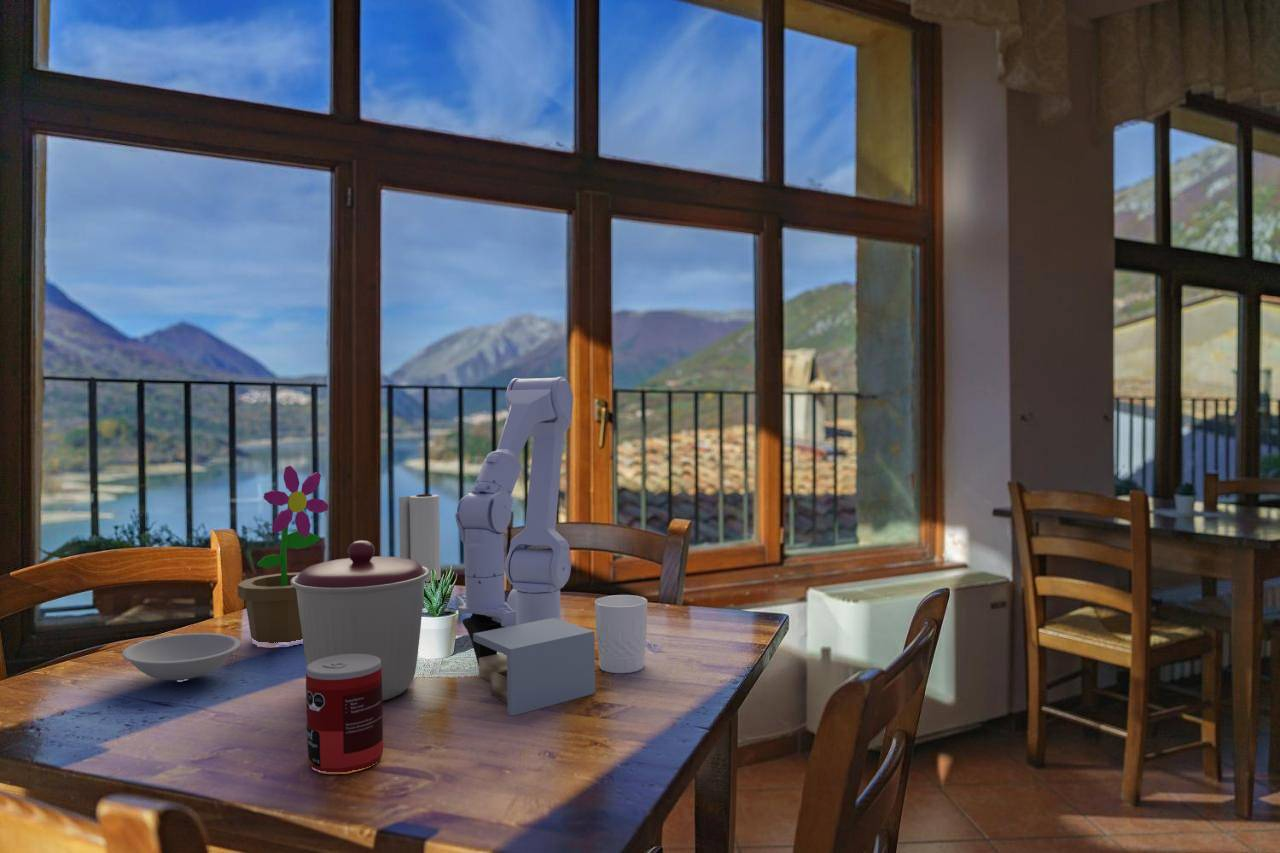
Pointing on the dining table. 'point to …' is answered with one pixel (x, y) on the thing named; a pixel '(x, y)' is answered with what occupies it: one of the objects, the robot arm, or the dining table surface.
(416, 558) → the paper towel roll
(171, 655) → the dish
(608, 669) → the white cup
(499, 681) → the wooden tray
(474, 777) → the dining table surface
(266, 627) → the flowerpot
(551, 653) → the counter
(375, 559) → the canister
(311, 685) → the canned food
